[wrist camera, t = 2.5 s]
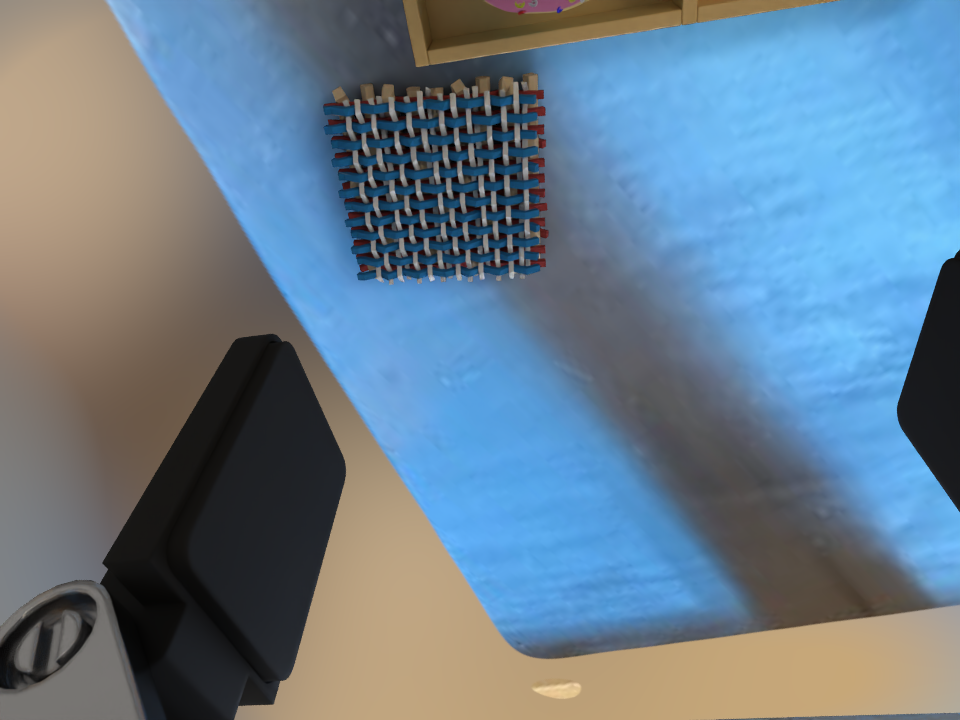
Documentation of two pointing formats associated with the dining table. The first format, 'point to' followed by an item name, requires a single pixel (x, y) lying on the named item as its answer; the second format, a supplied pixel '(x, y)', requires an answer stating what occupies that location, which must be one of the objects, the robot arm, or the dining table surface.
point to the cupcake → (535, 5)
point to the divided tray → (555, 23)
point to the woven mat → (442, 180)
